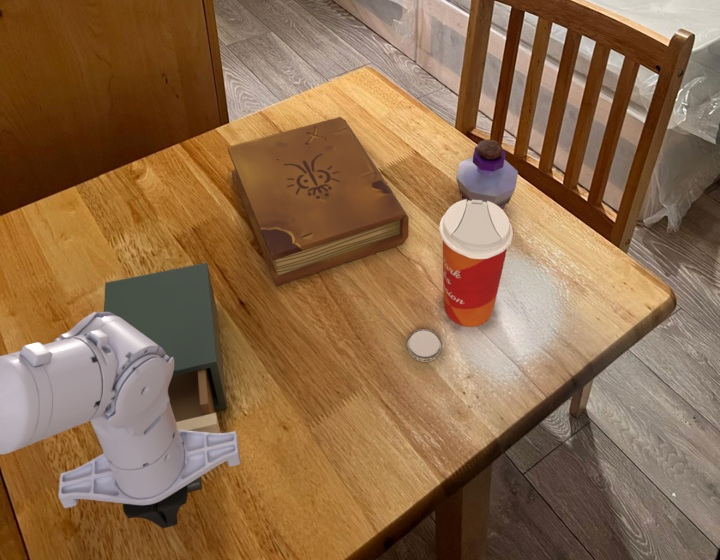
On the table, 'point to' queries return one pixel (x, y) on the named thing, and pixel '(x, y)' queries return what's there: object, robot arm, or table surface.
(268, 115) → the table surface
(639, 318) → the table surface
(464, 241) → the coffee cup
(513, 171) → the potion bottle
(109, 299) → the cabinet
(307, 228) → the diary
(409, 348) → the white bottle cap
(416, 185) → the table surface
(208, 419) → the drawer
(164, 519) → the robot arm
